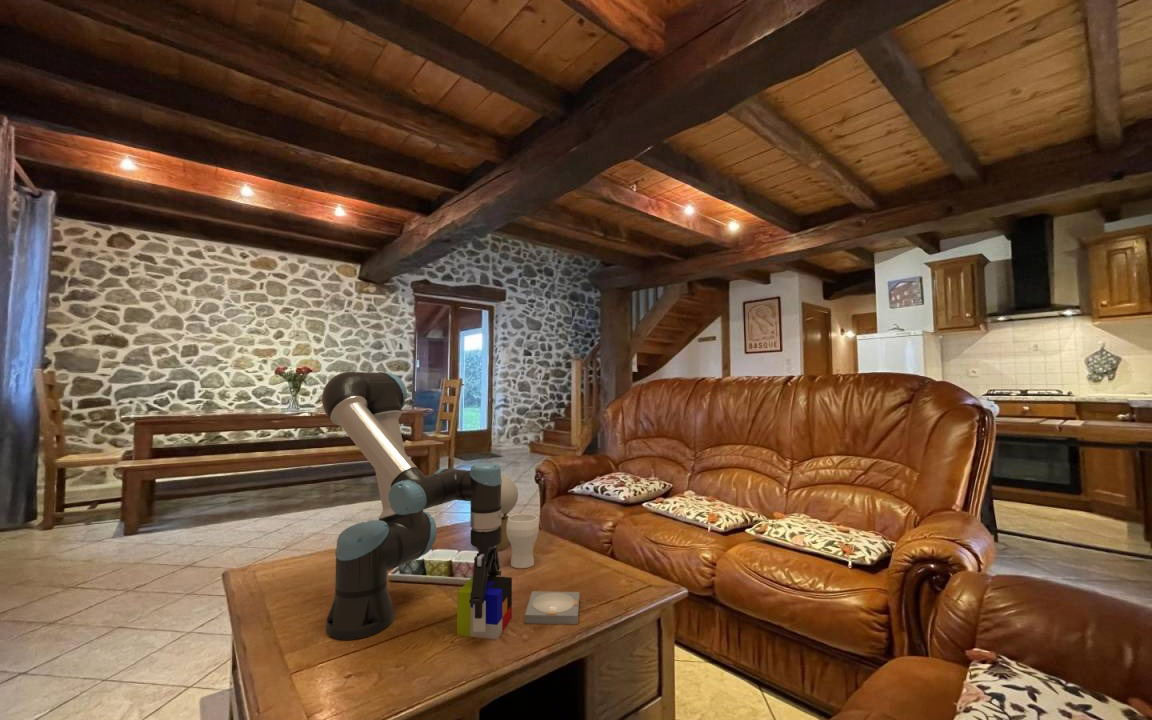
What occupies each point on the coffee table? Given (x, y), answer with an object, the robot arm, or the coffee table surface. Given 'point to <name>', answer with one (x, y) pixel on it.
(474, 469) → the robot arm
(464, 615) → the puzzle toy
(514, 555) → the cup
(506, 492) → the lamp
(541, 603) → the plinth
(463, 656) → the coffee table surface
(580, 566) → the coffee table surface
